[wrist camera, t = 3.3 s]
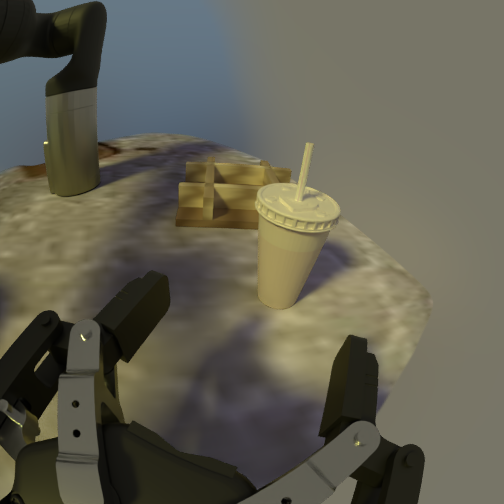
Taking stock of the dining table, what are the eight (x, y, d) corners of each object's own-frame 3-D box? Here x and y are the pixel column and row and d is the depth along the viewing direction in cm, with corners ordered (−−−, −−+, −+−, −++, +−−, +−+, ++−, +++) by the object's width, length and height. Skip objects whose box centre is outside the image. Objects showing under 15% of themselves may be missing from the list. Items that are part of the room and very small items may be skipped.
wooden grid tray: (175, 226, 33) (175, 196, 30) (188, 177, 46) (188, 156, 44) (308, 231, 35) (315, 204, 33) (281, 183, 49) (285, 162, 47)
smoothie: (231, 305, 23) (250, 138, 15) (256, 265, 28) (279, 128, 20) (301, 330, 22) (357, 165, 14) (315, 284, 27) (357, 147, 19)
